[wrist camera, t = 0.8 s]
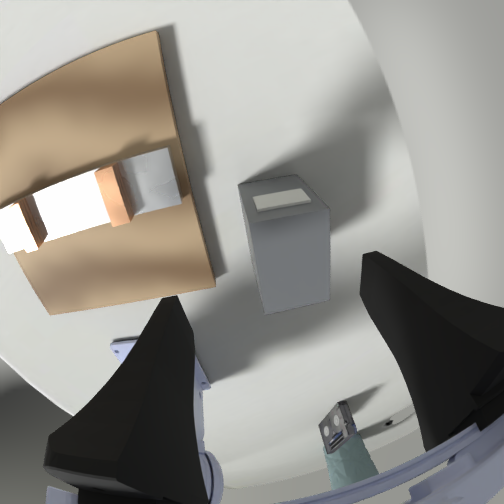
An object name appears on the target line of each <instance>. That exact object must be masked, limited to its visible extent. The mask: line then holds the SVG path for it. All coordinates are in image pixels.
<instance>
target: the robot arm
mask: <svg viewBox="0 0 504 504" xmlns="http://www.w3.org/2000/svg"><path fill="white" fill-rule="evenodd" d="M360 296H361V298H362V300H363V303H364V305H365V307H366V309H367V311H368V314H369V315H370V317H371V319H372V320H373V322H374V324H375V325H376V327H377V329H378V330H379V332H380V334H381V335H382V337H383V338H384V340H385V342H386V343H387V345H388V347H389V348H390V350H391V352H392V353H393V355H394V357H395V359H396V361H397V363H398V365H399V367H400V370H401V372H402V374H403V377H404V379H405V382H406V384H407V387H408V390H409V393H410V395H411V398H412V401H413V404H414V408H415V411H416V414H417V418H418V422H419V426H420V430H421V434H422V439H423V444H424V448H425V450H426V453H424V454H422V455H420V456H418V457H416V458H414V459H412V460H410V461H408V462H405V463H403V464H401V465H399V466H397V467H395V468H393V469H390V470H388V471H385V472H383V473H380V474H378V475H375V476H373V477H370V478H367V479H365V480H362V481H359V482H356V483H353V484H350V485H347V486H344V487H341V488H338V489H335V490H331V491H328V492H324V493H321V494H317V495H313V496H309V497H305V498H300V499H295V500H290V501H286V502H280V503H274V504H353V503H356V502H359V501H361V500H364V499H367V498H370V497H372V496H375V495H377V494H380V493H382V492H385V491H387V490H390V489H392V488H394V487H396V486H399V485H401V484H403V483H405V482H407V481H409V480H411V479H413V478H415V477H417V476H419V475H421V474H423V473H425V472H427V471H429V470H431V469H432V468H434V467H436V466H438V465H440V464H441V463H443V462H444V461H446V460H448V459H449V461H448V463H447V467H445V468H443V469H442V470H440V471H438V472H437V473H435V474H433V475H431V476H430V477H428V478H426V479H425V480H423V481H421V482H419V483H418V484H416V485H414V486H412V487H410V488H409V492H410V495H411V499H410V500H408V501H405V502H403V503H401V504H486V503H487V502H488V501H489V500H490V499H491V498H493V496H495V495H496V494H497V493H498V492H499V491H500V490H501V489H502V488H503V487H504V308H502V307H498V306H494V305H490V304H487V303H484V302H480V301H478V300H475V299H471V298H469V297H466V296H463V295H461V294H459V293H456V292H454V291H452V290H449V289H447V288H445V287H443V286H441V285H439V284H437V283H435V282H433V281H431V280H429V279H427V278H425V277H423V276H421V275H420V274H418V273H416V272H414V271H412V270H410V269H409V268H407V267H405V266H403V265H402V264H400V263H398V262H396V261H395V260H393V259H391V258H389V257H387V256H385V255H384V254H382V253H380V252H377V251H374V252H370V253H365V254H363V257H362V272H361V285H360ZM110 349H111V350H112V351H113V353H114V354H115V356H116V357H117V358H118V360H119V361H120V362H121V365H120V367H119V368H118V369H117V370H116V372H115V373H114V374H113V376H112V377H111V378H110V379H109V381H108V382H107V383H106V384H105V385H104V386H103V387H102V388H101V390H100V391H99V392H98V393H97V394H96V395H95V396H94V397H93V398H92V399H91V400H90V401H89V402H88V403H87V404H86V405H85V406H84V407H83V408H82V409H81V410H80V411H79V412H78V413H77V414H76V415H75V416H73V417H72V418H71V419H70V420H69V421H68V422H66V423H65V424H64V425H62V426H61V427H60V428H58V429H57V430H56V431H55V432H53V433H52V434H50V435H49V438H48V443H47V447H46V453H45V458H44V464H43V467H44V469H45V470H46V472H47V473H49V474H50V475H52V476H54V477H56V478H58V479H60V480H62V481H64V482H66V483H68V484H70V485H72V486H74V487H76V488H79V492H78V495H77V494H74V493H71V492H68V491H64V490H61V489H57V488H54V487H50V486H49V487H47V496H46V504H219V503H220V501H221V499H222V494H223V486H224V483H223V473H222V469H221V466H220V464H219V462H218V461H217V460H216V458H215V456H214V455H213V454H212V453H211V452H209V451H205V447H204V441H202V440H203V437H204V417H203V394H202V390H208V389H210V388H211V385H210V383H209V381H208V379H207V377H206V375H205V373H204V371H203V369H202V367H201V365H200V363H199V361H198V359H197V357H196V355H195V346H194V335H193V330H192V328H191V326H190V324H189V321H188V319H187V317H186V315H185V312H184V310H183V308H182V305H181V303H180V301H179V298H178V296H177V295H176V296H171V297H166V298H162V299H161V301H160V303H159V304H158V306H157V307H156V309H155V311H154V313H153V314H152V316H151V318H150V320H149V321H148V323H147V325H146V326H145V328H144V330H143V331H142V333H141V335H140V336H139V338H138V340H130V341H121V342H113V343H111V344H110Z"/></svg>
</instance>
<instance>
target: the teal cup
mask: <svg viewBox="0 0 504 504" xmlns="http://www.w3.org/2000/svg"><path fill="white" fill-rule="evenodd" d="M323 450H324V454H325V458H326V462H327V467H328V471H329V476H330V481H331V488H332V490H335V489H338V488H341V487H344V486H347V485H350V484H353V483H356V482H359V481H362V480H365V479H367V478H370V477H373V476H375V475H378V474H379V473H378V471H377V469H376V467H375V465H374V463H373V462H372V460H371V458H370V455H369V453H368V451H367V449H366V448H365V445H364V442H363V440H362V438H361V436H360V435H359V434H355V435H354V436H353V437H351V438H350V439H349V440H348V441H347V442H346V443H345V444H344V445H342V446H341V447H340V448H339V449H338V450H337V451H335V452H334V453H332V454H327V452H326V449H325V446H324V448H323Z"/></svg>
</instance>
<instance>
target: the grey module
mask: <svg viewBox="0 0 504 504" xmlns="http://www.w3.org/2000/svg"><path fill="white" fill-rule="evenodd" d="M238 189H239V195H240V200H241V206H242V211H243V217H244V222H245V227H246V233H247V238H248V244H249V249H250V254H251V260H252V264H253V268H254V272H255V276H256V280H257V284H258V289H259V293H260V297H261V301H262V305H263V309H264V313H265V315H267V314H272V313H276V312H281V311H286V310H290V309H294V308H299V307H303V306H307V305H312V304H316V303H320V302H324V301H328V300H330V209H329V207H328V206H327V205H326V204H325V203H324V202H323V201H322V200H321V199H320V198H319V197H318V196H317V195H316V194H315V193H314V192H313V191H312V190H311V188H310V187H309V186H308V185H307V184H306V183H305V182H304V181H303V180H302V179H301V178H300V177H299V176H298V175H297V174H296V175H290V176H284V177H278V178H272V179H266V180H261V181H255V182H250V183H245V184H239V185H238Z"/></svg>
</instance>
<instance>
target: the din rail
mask: <svg viewBox="0 0 504 504" xmlns="http://www.w3.org/2000/svg"><path fill="white" fill-rule="evenodd" d="M182 201H183V195H182V191H181V187H180V183H179V179H178V175H177V172H176V168H175V163H174V159H173V155H172V151H171V147H170V145H166V146H163V147H159V148H155V149H151V150H148V151H144V152H141V153H137V154H134V155H131V156H128V157H124V158H121V159H118V160H115V161H112V162H109V163H106V164H103V165H100V166H97V167H94V168H91V169H89V170H86V171H83V172H80V173H78V174H75V175H73V176H70V177H67V178H65V179H62V180H60V181H57V182H55V183H53V184H50V185H48V186H46V187H43V188H41V189H39V190H36V191H34V192H32V193H30V194H28V195H25V196H23V197H21V198H19V199H17V200H15V201H13V202H11V203H9V204H7V205H5V206H3V207H1V208H0V236H1V238H2V240H3V242H4V245H5V247H6V249H7V251H8V253H9V254H10V253H12V252H15V251H18V250H21V249H24V248H25V249H26V251H27V252H30V251H33V250H36V249H38V248H39V247H40V246H41V245H42V243H43V242H45V241H48V240H51V239H54V238H57V237H60V236H64V235H67V234H70V233H73V232H77V231H80V230H83V229H87V228H90V227H94V226H97V225H101V224H104V223H108V222H111V224H112V226H113V227H115V226H119V225H123V224H126V223H130V222H131V220H132V219H133V217H134V215H138V214H142V213H146V212H150V211H154V210H158V209H162V208H166V207H170V206H175V205H179V204H182Z"/></svg>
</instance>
